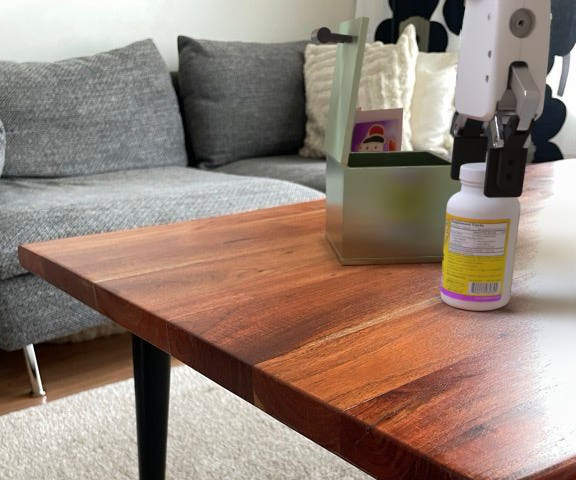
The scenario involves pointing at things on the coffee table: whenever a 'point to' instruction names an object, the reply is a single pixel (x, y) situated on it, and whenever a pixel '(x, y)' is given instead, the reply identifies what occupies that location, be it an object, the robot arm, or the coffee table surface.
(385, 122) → the purple cartoon box
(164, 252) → the coffee table surface
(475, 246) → the supplement bottle
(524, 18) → the robot arm
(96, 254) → the coffee table surface
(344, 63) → the bin lid
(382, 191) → the bin
